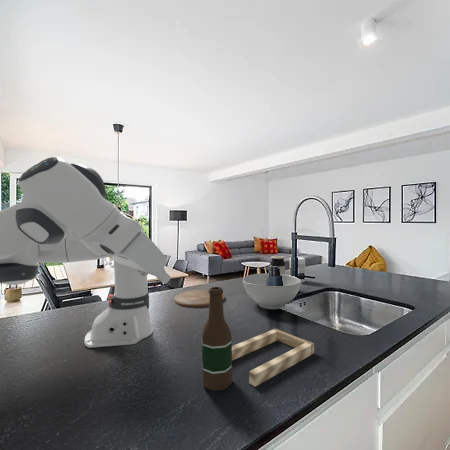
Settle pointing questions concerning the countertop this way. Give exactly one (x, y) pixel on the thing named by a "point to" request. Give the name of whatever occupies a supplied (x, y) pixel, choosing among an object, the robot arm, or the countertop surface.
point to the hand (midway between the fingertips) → (156, 276)
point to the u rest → (279, 363)
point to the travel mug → (278, 263)
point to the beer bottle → (216, 345)
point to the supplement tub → (300, 266)
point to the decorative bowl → (271, 290)
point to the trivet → (194, 298)
